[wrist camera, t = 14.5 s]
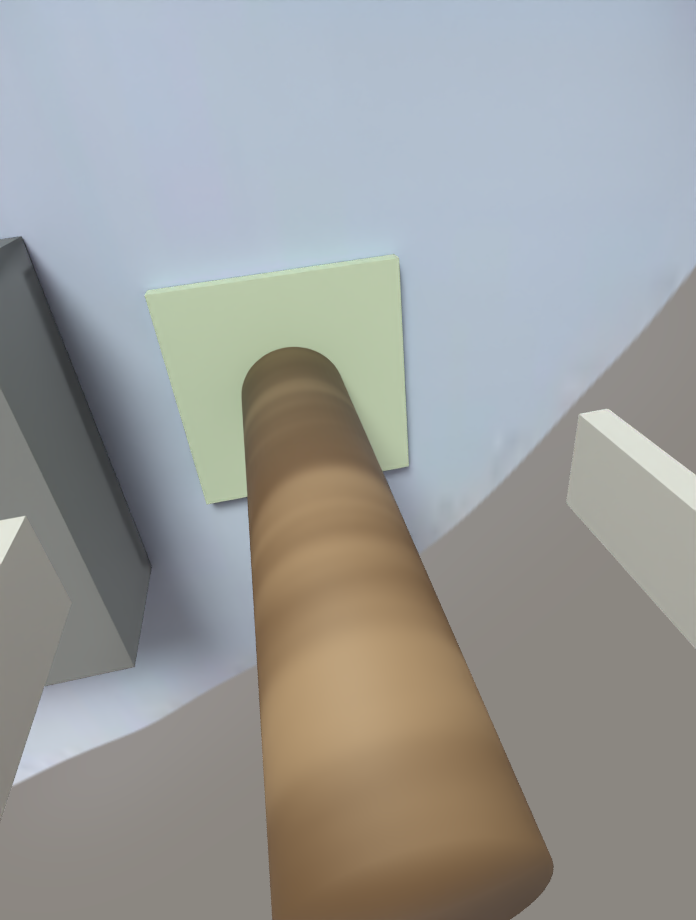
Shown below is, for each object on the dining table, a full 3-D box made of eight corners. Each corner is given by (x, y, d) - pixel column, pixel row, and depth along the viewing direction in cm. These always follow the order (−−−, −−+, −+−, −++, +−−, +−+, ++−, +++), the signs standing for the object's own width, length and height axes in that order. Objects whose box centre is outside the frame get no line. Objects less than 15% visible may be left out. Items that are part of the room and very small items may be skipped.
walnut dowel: (231, 356, 18) (247, 891, 6) (338, 338, 19) (571, 806, 6) (252, 447, 20) (298, 994, 8) (348, 430, 20) (539, 924, 8)
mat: (146, 290, 17) (144, 295, 17) (394, 254, 18) (398, 257, 18) (207, 495, 22) (206, 504, 21) (404, 458, 22) (408, 466, 22)
